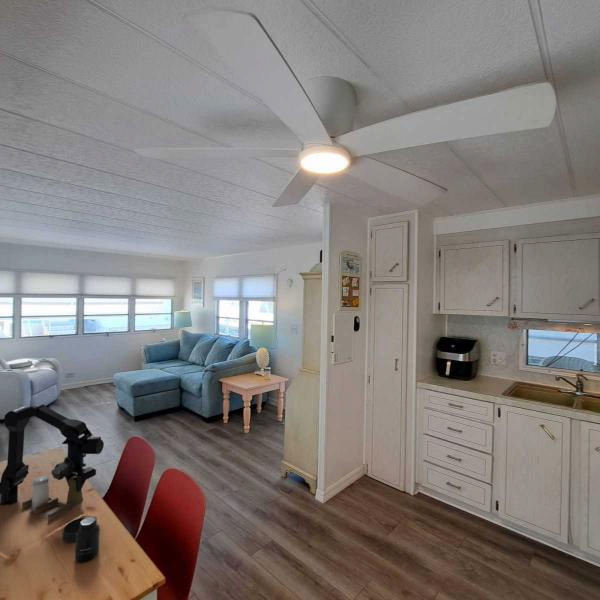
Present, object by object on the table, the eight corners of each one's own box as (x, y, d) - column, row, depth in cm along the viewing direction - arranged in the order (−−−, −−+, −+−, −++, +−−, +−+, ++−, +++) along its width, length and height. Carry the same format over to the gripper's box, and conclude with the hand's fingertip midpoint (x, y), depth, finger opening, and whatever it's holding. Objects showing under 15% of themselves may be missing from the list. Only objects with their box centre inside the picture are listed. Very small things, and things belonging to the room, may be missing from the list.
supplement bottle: (81, 567, 107) (81, 530, 107) (71, 558, 110) (71, 522, 110) (103, 553, 113) (103, 518, 113) (92, 545, 116) (93, 511, 116)
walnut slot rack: (22, 510, 134) (22, 502, 134) (43, 499, 142) (44, 491, 142) (49, 523, 127) (50, 514, 127) (71, 511, 134) (71, 503, 134)
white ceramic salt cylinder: (28, 507, 135) (29, 481, 135) (43, 500, 140) (44, 474, 140) (36, 511, 132) (37, 484, 132) (51, 503, 138) (52, 477, 138)
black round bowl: (69, 547, 115) (69, 536, 115) (58, 537, 120) (58, 526, 120) (96, 533, 123) (96, 522, 123) (84, 523, 127) (85, 513, 127)
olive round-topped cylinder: (74, 508, 136) (75, 481, 136) (62, 506, 137) (62, 480, 137) (86, 499, 142) (87, 474, 142) (74, 497, 143) (75, 472, 143)
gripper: (41, 456, 136) (40, 494, 136) (69, 466, 129) (69, 506, 129) (69, 446, 146) (68, 481, 146) (97, 454, 139) (96, 491, 139)
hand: (74, 490), depth 140 cm, fingers closed on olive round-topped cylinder, 5 cm apart
